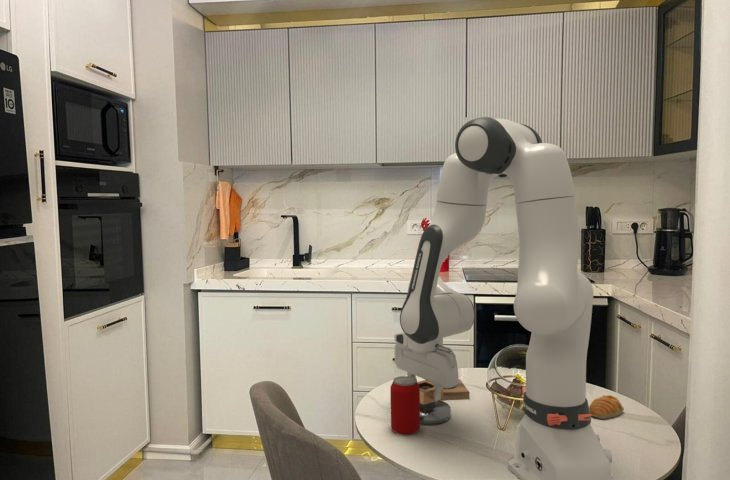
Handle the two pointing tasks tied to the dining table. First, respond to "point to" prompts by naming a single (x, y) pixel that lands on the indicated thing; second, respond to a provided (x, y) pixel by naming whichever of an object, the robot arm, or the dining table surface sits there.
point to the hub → (434, 412)
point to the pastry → (606, 407)
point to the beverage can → (405, 405)
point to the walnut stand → (456, 392)
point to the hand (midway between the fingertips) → (425, 394)
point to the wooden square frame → (427, 392)
